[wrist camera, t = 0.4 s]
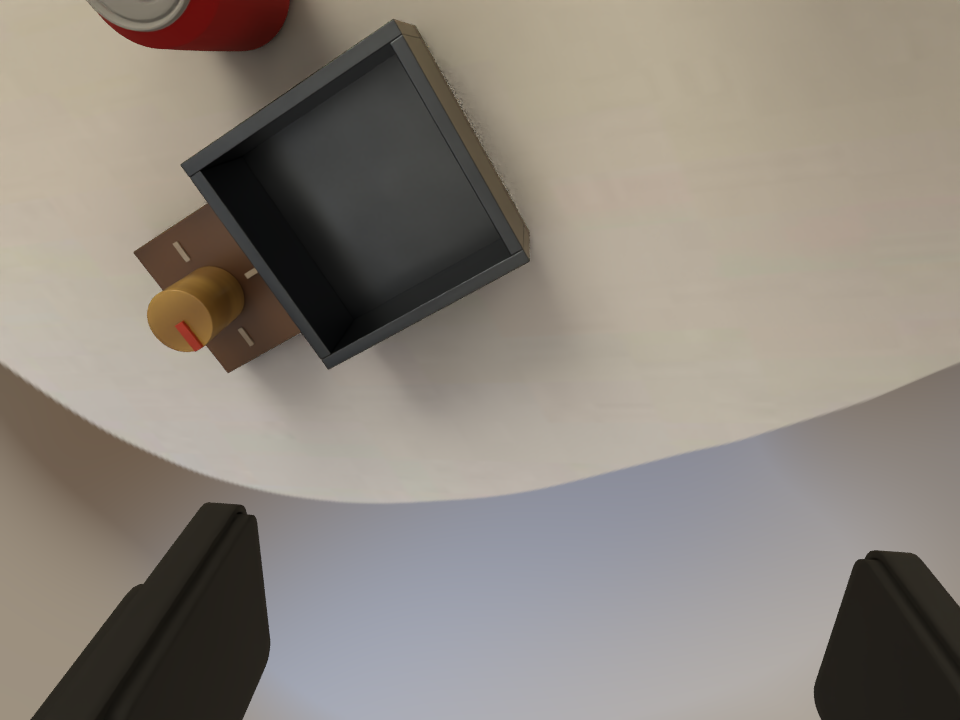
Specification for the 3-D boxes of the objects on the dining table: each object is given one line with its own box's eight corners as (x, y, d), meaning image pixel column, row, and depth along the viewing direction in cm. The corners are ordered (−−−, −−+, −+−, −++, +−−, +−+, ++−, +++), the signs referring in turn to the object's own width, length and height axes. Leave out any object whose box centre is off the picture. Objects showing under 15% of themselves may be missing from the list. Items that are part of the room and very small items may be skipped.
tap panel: (140, 250, 47) (118, 261, 44) (241, 184, 44) (224, 191, 42) (230, 365, 50) (214, 381, 47) (328, 309, 47) (318, 323, 45)
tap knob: (173, 283, 45) (130, 310, 40) (219, 255, 44) (180, 279, 39) (211, 332, 46) (174, 364, 41) (256, 306, 45) (223, 335, 40)
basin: (230, 149, 43) (179, 165, 37) (414, 25, 40) (393, 18, 33) (354, 328, 48) (328, 370, 42) (529, 232, 44) (530, 261, 38)
